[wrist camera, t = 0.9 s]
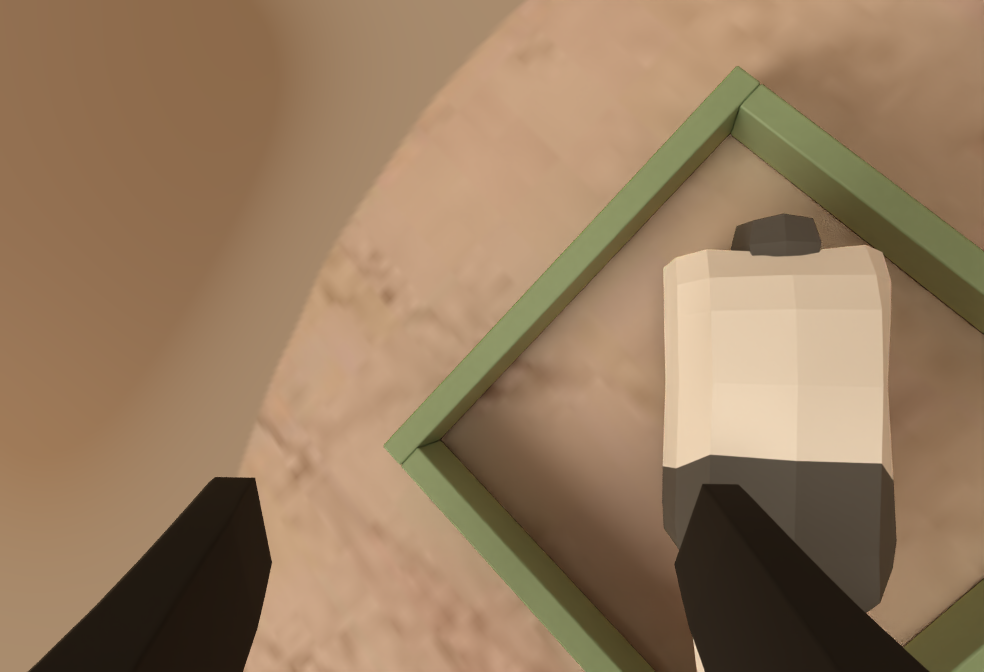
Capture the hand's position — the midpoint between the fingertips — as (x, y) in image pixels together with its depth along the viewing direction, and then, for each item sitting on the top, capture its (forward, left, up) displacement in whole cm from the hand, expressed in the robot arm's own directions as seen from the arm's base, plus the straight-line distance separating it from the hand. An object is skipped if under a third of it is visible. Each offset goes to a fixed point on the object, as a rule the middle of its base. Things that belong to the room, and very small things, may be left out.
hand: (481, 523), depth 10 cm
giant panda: (-4, -4, -14) cm, 15 cm away
